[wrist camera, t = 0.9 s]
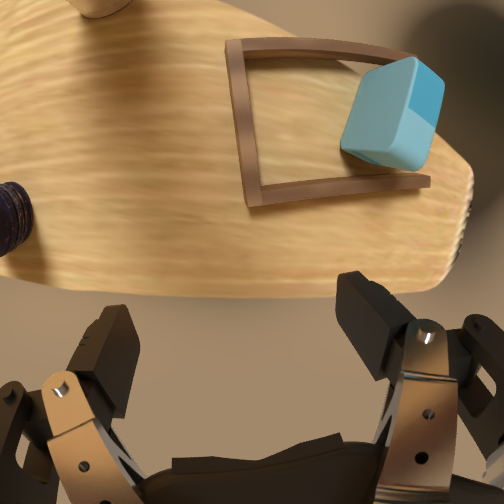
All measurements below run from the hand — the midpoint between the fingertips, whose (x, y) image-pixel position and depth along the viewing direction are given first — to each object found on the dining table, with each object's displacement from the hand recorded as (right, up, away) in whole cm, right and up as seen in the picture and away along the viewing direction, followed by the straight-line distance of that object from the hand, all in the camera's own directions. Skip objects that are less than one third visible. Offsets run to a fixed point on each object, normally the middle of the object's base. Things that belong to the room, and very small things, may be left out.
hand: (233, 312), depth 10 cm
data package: (+15, +20, +21) cm, 33 cm away
